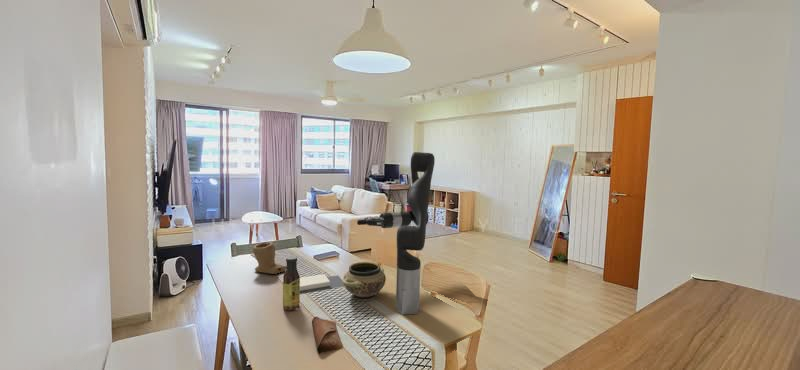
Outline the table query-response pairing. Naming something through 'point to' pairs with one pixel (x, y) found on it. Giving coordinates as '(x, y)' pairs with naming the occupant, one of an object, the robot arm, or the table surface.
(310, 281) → the tile
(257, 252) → the tan ankle boot
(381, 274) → the decorated ceramic pot
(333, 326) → the sunglasses case
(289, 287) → the sauce bottle
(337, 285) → the mat
